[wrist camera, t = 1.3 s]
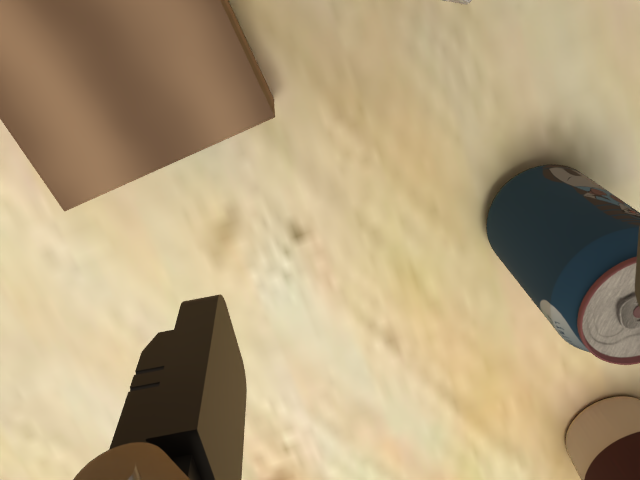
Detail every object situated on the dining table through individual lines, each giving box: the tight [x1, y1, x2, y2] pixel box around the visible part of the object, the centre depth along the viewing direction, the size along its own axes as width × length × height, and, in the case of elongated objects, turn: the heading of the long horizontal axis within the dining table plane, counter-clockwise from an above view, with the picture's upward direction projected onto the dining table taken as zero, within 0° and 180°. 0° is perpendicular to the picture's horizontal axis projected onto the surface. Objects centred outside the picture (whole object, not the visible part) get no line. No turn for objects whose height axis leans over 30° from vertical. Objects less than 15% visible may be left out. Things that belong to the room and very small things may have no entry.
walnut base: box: [0, 0, 275, 211], centre depth 29 cm, size 12×12×4 cm
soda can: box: [487, 165, 640, 365], centre depth 32 cm, size 7×7×12 cm
